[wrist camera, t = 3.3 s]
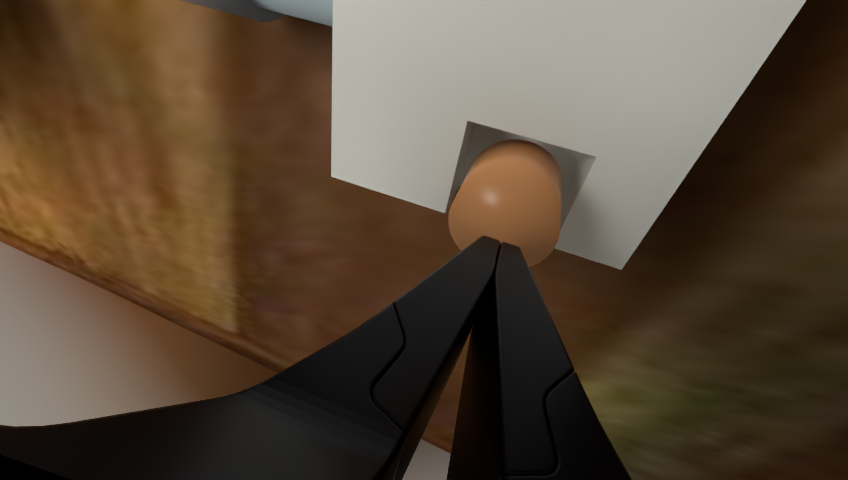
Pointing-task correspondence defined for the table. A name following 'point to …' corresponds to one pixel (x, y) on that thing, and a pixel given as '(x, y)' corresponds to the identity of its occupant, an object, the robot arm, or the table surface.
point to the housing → (544, 97)
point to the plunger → (510, 199)
